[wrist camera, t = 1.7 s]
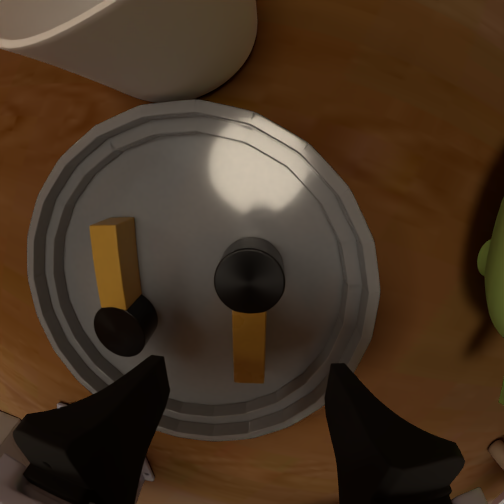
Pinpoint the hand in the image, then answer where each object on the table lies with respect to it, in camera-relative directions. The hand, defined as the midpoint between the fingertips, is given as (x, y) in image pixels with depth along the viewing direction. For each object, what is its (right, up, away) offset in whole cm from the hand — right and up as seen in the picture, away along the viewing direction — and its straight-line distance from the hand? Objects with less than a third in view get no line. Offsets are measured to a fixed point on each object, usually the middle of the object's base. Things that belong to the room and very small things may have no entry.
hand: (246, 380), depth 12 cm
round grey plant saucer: (-3, +3, +5) cm, 7 cm away
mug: (-5, +18, +1) cm, 19 cm away
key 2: (-7, +4, +4) cm, 9 cm away
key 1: (0, +3, +4) cm, 5 cm away
